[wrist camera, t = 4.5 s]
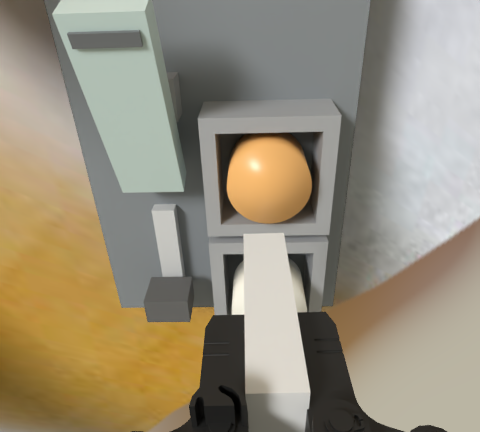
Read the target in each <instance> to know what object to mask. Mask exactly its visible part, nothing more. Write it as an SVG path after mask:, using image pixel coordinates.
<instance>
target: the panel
mask: <svg viewBox="0 0 480 432" xmlns="http://www.w3.org/2000/svg"><path fill="white" fill-rule="evenodd" d="M60 1H61V0H44V2H45V6H46V10H47V14H48V18H49V22H50V26H51V30H52V34H53V38H54V42H55V46H56V50H57V54H58V58H59V62H60V66H61V70H62V74H63V78H64V82H65V86H66V89H67V93H68V97H69V101H70V105H71V109H72V113H73V117H74V121H75V125H76V129H77V133H78V137H79V141H80V145H81V149H82V153H83V157H84V161H85V165H86V169H87V173H88V177H89V180H90V184H91V188H92V192H93V196H94V200H95V204H96V208H97V212H98V216H99V220H100V224H101V228H102V232H103V236H104V240H105V244H106V248H107V252H108V256H109V260H110V264H111V268H112V271H113V275H114V279H115V283H116V287H117V291H118V295H119V299H120V303H121V307H122V308H130V307H144V298H145V295H146V292H147V289H148V286H149V283H150V280H151V277H192V281H193V289H194V301H193V307H214V311H215V315H232V297H233V278H234V273H235V270H236V268H237V267H238V265H239V264H240V263H241V262H242V261H243V260H244V240H243V234H259V233H284V237H285V243H286V249H287V255H288V258H290V259H291V260H292V261H293V262H295V264H296V265H297V266H298V268H299V269H300V272H301V277H302V283H303V289H304V295H305V300H306V306H307V312H321V309H322V306H333V300H334V292H335V284H336V276H337V268H338V260H339V252H340V244H341V235H342V227H343V219H344V211H345V203H346V195H347V187H348V179H349V171H350V163H351V155H352V146H353V138H354V130H355V122H356V114H357V106H358V98H359V90H360V82H361V74H362V65H363V57H364V49H365V41H366V33H367V25H368V17H369V9H370V1H371V0H152V2H153V7H154V12H155V17H156V22H157V27H158V32H159V37H160V42H161V47H162V52H163V57H164V63H165V68H166V73H167V78H168V83H169V88H170V93H171V98H172V103H173V108H174V113H175V118H176V123H177V128H178V133H179V138H180V143H181V148H182V153H183V158H184V163H185V168H186V180H185V188H184V192H139V193H123V192H122V189H121V187H120V184H119V182H118V179H117V177H116V174H115V172H114V169H113V167H112V164H111V162H110V159H109V157H108V154H107V151H106V149H105V146H104V144H103V141H102V139H101V136H100V134H99V131H98V129H97V126H96V124H95V121H94V119H93V116H92V114H91V111H90V109H89V106H88V104H87V101H86V99H85V96H84V94H83V91H82V89H81V86H80V84H79V81H78V78H77V76H76V73H75V71H74V68H73V66H72V63H71V61H70V58H69V56H68V53H67V51H66V48H65V46H64V43H63V41H62V38H61V36H60V33H59V31H58V28H57V26H56V23H55V21H54V18H53V16H52V13H53V12H54V10H55V9H56V7H57V5H58V4H59V2H60ZM282 132H288V133H289V134H291V135H292V136H294V137H295V138H296V139H297V141H298V142H299V143H300V145H301V147H302V149H303V151H304V155H305V158H306V161H307V165H308V168H309V171H310V175H311V179H312V190H311V195H310V197H309V200H308V202H307V203H306V205H305V206H304V207H303V209H302V210H301V211H300V212H299V213H297V214H296V215H295V216H293V217H291V218H290V219H287V220H285V221H282V222H278V223H270V224H266V223H258V222H254V221H252V220H249V219H247V218H245V217H244V216H242V215H241V214H240V213H239V212H237V211H236V209H235V208H234V207H233V205H232V204H231V202H230V200H229V197H228V194H227V178H228V169H229V160H230V155H231V151H232V149H233V147H234V145H235V144H236V142H237V141H238V140H239V139H240V138H241V137H242V136H244V135H245V134H247V133H282Z"/></svg>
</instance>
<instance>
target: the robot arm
mask: <svg viewBox="0 0 480 432" xmlns="http://www.w3.org/2000/svg"><path fill="white" fill-rule="evenodd" d="M243 240H244V315H213V316H212V318H211V320H210V321H209V323H208V325H207V326H206V328H205V338H204V349H203V359H202V369H201V379H200V388H199V389H198V390H197V391H196V392H195V394H194V395H193V396H192V399H191V402H190V405H189V409H190V416H191V418H190V419H189V420H188V422H186V423H185V424H184V425H182V426H181V427H179V428H178V429H175V430H173V431H171V432H404V431H401V430H397V429H394V428H390V427H387V426H385V425H382V424H380V423H377V422H376V421H374V420H373V419H371V418H370V417H368V415H366V413H365V412H363V410H362V409H361V407H360V406H359V405H358V403H357V400H356V398H355V395H354V391H353V387H352V384H351V380H350V377H349V373H348V369H347V366H346V362H345V358H344V354H343V353H342V347H341V343H340V341H339V335H338V332H337V328H336V324H335V323H334V322H333V321H332V319H331V318H330V317H329V316H328V314H327V313H326V312H297V309H296V303H295V297H294V291H293V285H292V279H291V273H290V267H289V261H288V255H287V249H286V243H285V237H284V233H259V234H243ZM132 432H141V431H132ZM411 432H447V431H445V430H444V429H442V428H438V427H434V426H431V425H425V426H418V427H417V428H415V429H413V430H411Z"/></svg>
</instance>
